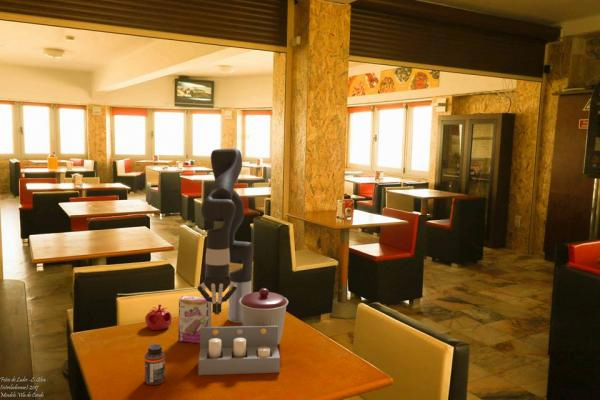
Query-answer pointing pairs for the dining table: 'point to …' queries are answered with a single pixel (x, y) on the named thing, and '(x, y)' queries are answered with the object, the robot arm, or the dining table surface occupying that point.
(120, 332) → the dining table surface
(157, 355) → the supplement bottle
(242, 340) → the middle button
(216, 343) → the button
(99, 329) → the dining table surface
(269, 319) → the canister
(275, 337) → the console
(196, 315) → the candy bar box
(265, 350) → the button
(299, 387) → the dining table surface
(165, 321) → the pomegranate
